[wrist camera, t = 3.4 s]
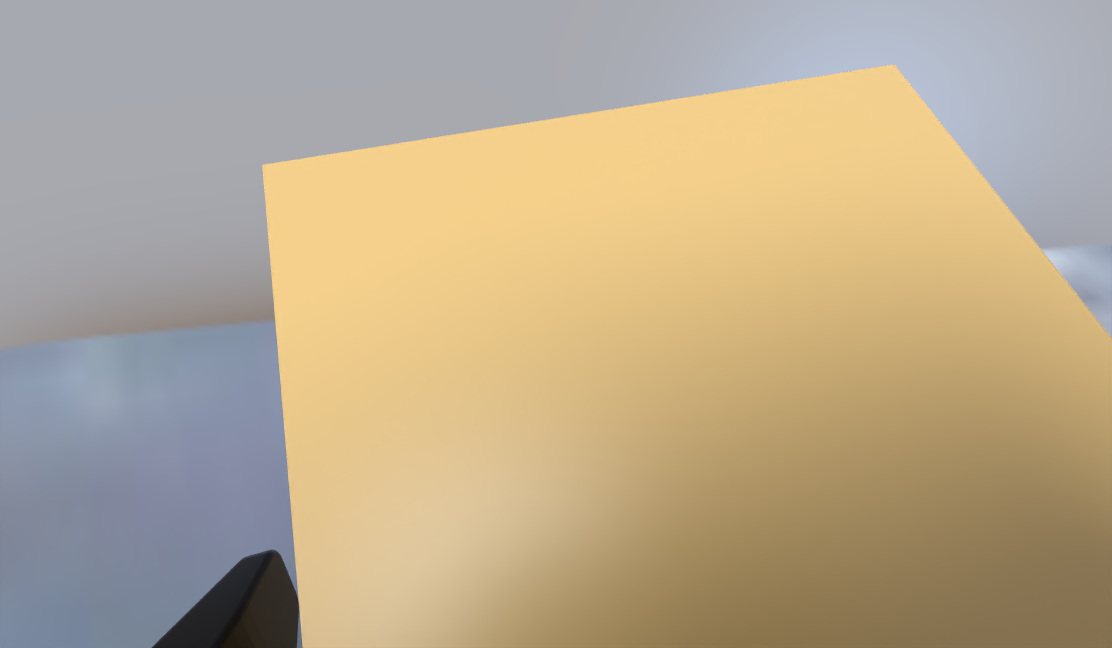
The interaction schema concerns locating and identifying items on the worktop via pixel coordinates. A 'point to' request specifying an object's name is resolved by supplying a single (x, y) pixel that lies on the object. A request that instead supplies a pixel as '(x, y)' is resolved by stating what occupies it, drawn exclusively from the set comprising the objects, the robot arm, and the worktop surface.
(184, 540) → the worktop surface
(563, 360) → the tower brick
